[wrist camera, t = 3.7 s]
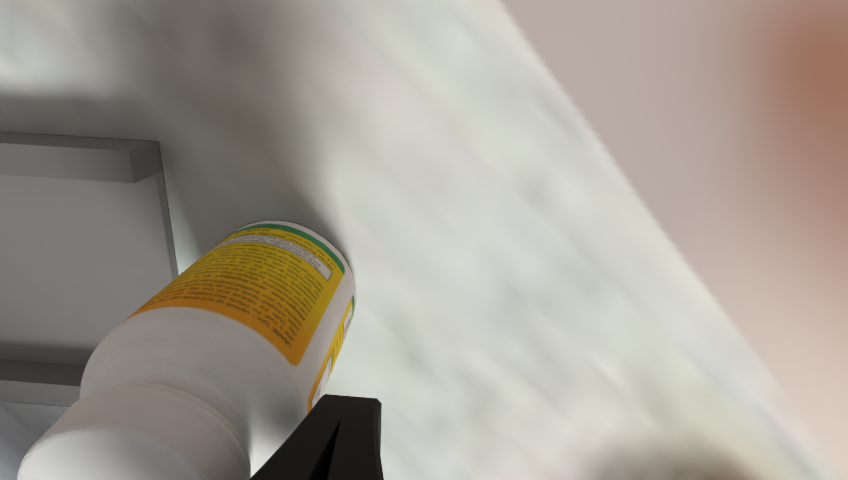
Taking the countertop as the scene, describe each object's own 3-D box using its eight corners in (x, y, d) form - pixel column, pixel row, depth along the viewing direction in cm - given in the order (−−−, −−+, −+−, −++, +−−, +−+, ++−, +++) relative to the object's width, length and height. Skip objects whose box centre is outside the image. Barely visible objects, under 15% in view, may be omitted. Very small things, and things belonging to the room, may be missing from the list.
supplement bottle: (375, 335, 19) (300, 599, 10) (244, 357, 20) (64, 621, 11) (333, 200, 17) (194, 377, 8) (190, 231, 18) (-82, 423, 9)
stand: (195, 388, 20) (174, 415, 19) (-65, 366, 21) (-105, 392, 19) (157, 141, 16) (128, 150, 15) (-158, 121, 17) (-217, 129, 15)
